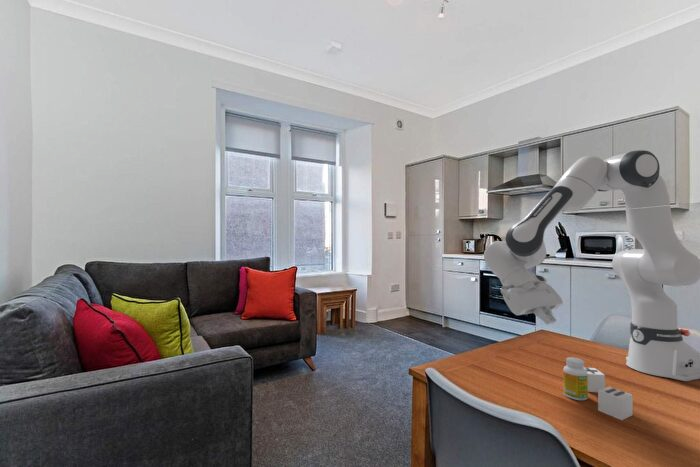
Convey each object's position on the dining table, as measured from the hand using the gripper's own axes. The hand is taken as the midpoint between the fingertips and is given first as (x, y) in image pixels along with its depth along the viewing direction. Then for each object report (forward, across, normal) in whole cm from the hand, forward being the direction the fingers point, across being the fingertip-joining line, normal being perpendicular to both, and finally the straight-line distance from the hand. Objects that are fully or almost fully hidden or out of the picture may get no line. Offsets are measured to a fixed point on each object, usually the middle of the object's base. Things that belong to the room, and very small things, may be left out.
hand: (551, 322), depth 97 cm
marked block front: (+24, -1, +2) cm, 24 cm away
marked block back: (+17, +9, +9) cm, 21 cm away
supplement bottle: (+18, 0, +9) cm, 20 cm away
